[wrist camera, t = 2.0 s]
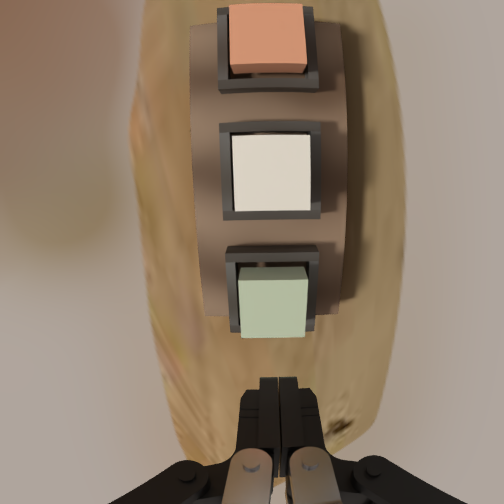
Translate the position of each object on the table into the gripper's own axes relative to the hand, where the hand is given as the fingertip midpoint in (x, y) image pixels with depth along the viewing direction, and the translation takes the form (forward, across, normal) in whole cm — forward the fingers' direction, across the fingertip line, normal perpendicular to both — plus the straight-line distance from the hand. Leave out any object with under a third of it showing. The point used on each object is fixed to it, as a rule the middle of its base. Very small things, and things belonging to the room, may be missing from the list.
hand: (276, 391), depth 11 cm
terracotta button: (+9, 0, -16) cm, 18 cm away
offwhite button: (+9, 0, -8) cm, 12 cm away
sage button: (+9, 0, 0) cm, 9 cm away
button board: (+12, 0, -8) cm, 15 cm away
